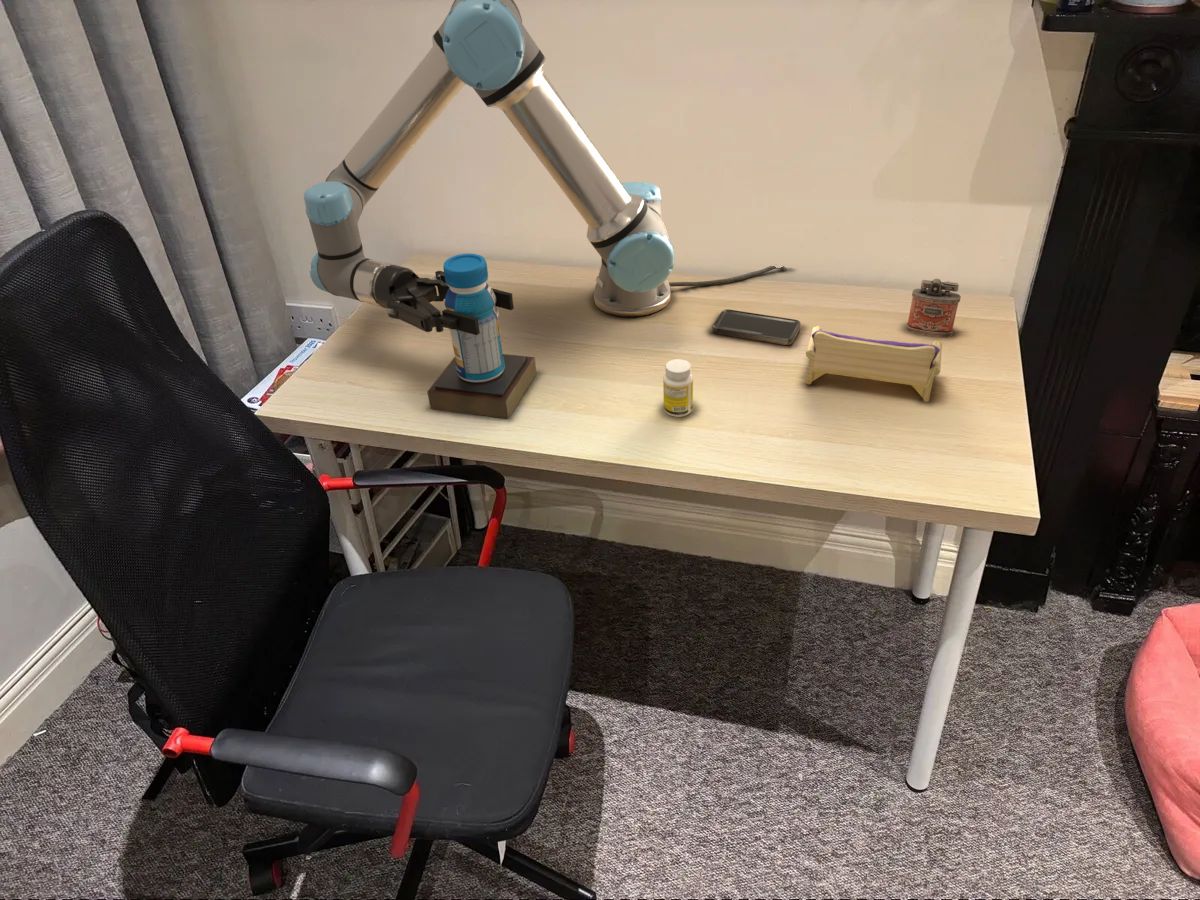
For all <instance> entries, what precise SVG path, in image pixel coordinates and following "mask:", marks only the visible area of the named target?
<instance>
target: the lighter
mask: <svg viewBox="0 0 1200 900" xmlns="http://www.w3.org/2000/svg"><path fill="white" fill-rule="evenodd" d="M959 287H960V284H959V283H958V282H952V281H941V279H939V278H933V280H930V279H922V280H921V284H920V288H914V289H913V290H912V293H911V296H912V299H911V304H910V310H909V314H908V319H907V323H906V325H905V330H906V331H907V332H908V333H912V334H916V335H920V336H921V335H922V336H928V337H937V338H950V337H952V336H953V333H954V325H955V320H956V315H957V311H958V306H959V303H960V301H961V297H962V296H961V295H960V294H959V293H957V292H958V291H959Z"/></svg>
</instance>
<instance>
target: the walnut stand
mask: <svg viewBox="0 0 1200 900" xmlns="http://www.w3.org/2000/svg"><path fill="white" fill-rule="evenodd" d="M503 358H504V363H505V368H504V371H503V372H502V374H501V375H500V376H498V377H497V378H495V379H493V380H490V381H487V382H480V383H474V382H468V381H465V380H463V379H461V378H460V377H459V376H458V374H457V371H456V361H455V356H454V357H453V359H452V360H451V361H450V362H449V364H448V365H447V366H446V367H445V368H444V370H443V371H442V372H441V373H440V374H439V376H438V377H437V379H435V381H434V383H432V385H431V386H430V387H429V389H428V390H427V397H428V401H429V407H430V409H431V410H437V411H445V412H452V413H460V414H469V415H475V416H476V415H477V416H485V417H492V418H500V419H508V420H509V418H510V417H511V415H512V413H513V412H514V410H515V409H516V408H517V405H518V404H519V402H520V401H521V400H522V398H523V396H524V395H525V393H526V392H527V390H528V388H529V387H530V385H531V383H533V380H534V378H535V377H536V376H537V368H536V367H537V365H536V358H535V356H529V355H518V354H508V353H503Z"/></svg>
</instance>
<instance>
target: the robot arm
mask: <svg viewBox="0 0 1200 900" xmlns="http://www.w3.org/2000/svg"><path fill="white" fill-rule="evenodd" d="M431 39H432V40H431V42H432V47H431V48H430V49H429V51H428V52H427V54H426V55H425V56H424V57H423V59H422V60H421V61H420V62H419V63H418V65H416V67H415V68H414V70H413V71H412V72H411V74H409V76H408V77H407V79H406V80H405V81H404V83H403V84H402V85H401V86H400V88H399V89H398V90H397V91H396V92H395V94H394V95H393V96H392V98H391V99H390V100H389V101H388V102H387V104H386V105H385V106H384V108H383V109H382V110H381V111H380V113H378V115H377V117H376V118H375V119H374V120H373V121H372V123H371V124H370V125H369V126H368V127H367V129H366V130H365V131H364V133H363V134H362V135H361V136H360V138H359V139H358V140H357V142H355V144H354V145H353V146H352V148H350V150H349V152H348V153H347V154H346V155H345V156H344V159H343V160H342V161H341V162H340V163H339V165H337V166H336V167H334V169H332V170H331V172H330V173H329V174H328V176H327V177H326V179H325V181H324V182H318V183H315V184H312V186H309V187H307V188H306V189H305V190H304V193H303V200H304V205H305V214H306V216H307V218H308V221H309V225H310V230H311V233H312V236H313V240H314V243H315V247H316V251H317V253H315V254H314V256H313V257H312V259H311V261H310V270H309V276H310V280H311V281H312V283H313V284H314V286H315V287H317V288H318V289H319V290H321V291H324V292H326V293H327V294H328V293H329V294H330V295H332V296H335V297H340V298H341V297H342V298H347V299H352V300H355V301H359V302H361V303H366V304H369V305H373V306H376V307H379V308H383V309H386V311H387V316H388V318H391V319H395V320H400V321H402V322H404V323H406V324H408V325H410V326H412V327H415V328H417V329H419V330H421V331H423V332H425V333H431V332H432V331H433V328H435V331H436V333H441V332H444V328H445V329H449V330H450V329H452V330H459V331H463V332H467V333H470V334H474V335H478V334H480V330H479V324H478V318H476V317H472V316H469V315H465V314H461V313H457V312H454V311H450V310H447V309H446V308H445V309H443V310H441V311H440V310H439V309H438V308H437V307H435V306H434V305H433V304H432V302H435V303H436V302H444V301H445V297H446V294H447V291H448V289H449V286H448V285H447V283H446V280H445V275H444V270H436V271H435V272H434V274H435V276H434V277H431V278H430V277H419V276H418V275H417V274H416V273H415V271H413V270H412V269H411V268H409V267H405V266H400V265H396V264H392V263H389V262H385V261H381V260H377V259H372V258H368V257H366V256H365V253H364V248H363V243H362V239H361V235H360V230H359V221H360V218H361V216H362V213H363V211H364V208H365V206H366V205H367V204H368V202H369V201H370V200H371V199H372V197H374V195H375V194H376V192H377V191H378V190H379V188H380V187H381V186H382V185H383V184H384V182H385V181H386V180H387V179H388V177H389V176H390V175H391V174H392V173H393V171H395V169H396V168H397V167H398V166H399V164H400V163H401V162H402V161H403V160H404V158H405V157H406V156H407V155H408V154H409V153H410V152H411V151H412V149H413V148H414V147H415V145H416V144H417V143H418V142H419V140H420V139H421V138H422V137H423V136H424V134H426V132H427V131H428V130H429V129H430V127H431V126H432V125H433V124H434V123H435V121H436V120H437V119H438V118H439V117H440V116H441V114H442V113H443V112H444V111H445V110H446V109H447V108H448V107H449V105H450V104H451V103H452V101H453V100H454V99H455V98H456V97H457V96H458V94H459V93H460V92H461V91H462V90H463V88H465V86H466V85H467V86H469V87H470V88H472V89H473V90H474V91H475V93H476V94H477V96H478V97H479V98H480V99H481V101H482V102H483V103H484V104H485V106H486V107H488V108H494V109H499V110H501V111H502V112H503V114H504V115H505V116H506V117H507V119H508V120H509V122H510V123H511V124H512V125H513V127H514V128H515V129H516V131H517V132H518V133H519V135H520V136H521V137H522V139H523V140H524V141H525V143H526V144H527V145H528V147H529V148H530V149H531V151H532V152H533V153H534V155H535V156H536V157H537V159H538V160H539V161H540V163H541V164H542V165H543V167H544V168H545V169H546V171H547V172H548V174H549V175H550V176H551V177H552V179H553V180H554V182H555V183H556V184H557V185H558V187H559V188H560V190H561V191H562V193H564V195H565V196H566V198H567V199H568V200H569V201H570V203H571V204H572V206H573V207H574V208H575V210H576V211H577V212H578V214H579V215H580V216H581V217H582V219H583V220H584V221H585V223H586V224H587V231H586V238H587V240H588V242H589V243H590V244H591V245H592V247H593V248H594V249H595V251H596V252H597V253H598V255H599V256H600V258H601V265H600V268H599V272H598V275H596V278H595V281H596V283H595V286H594V291H593V298H594V304H595V306H596V308H598V309H599V310H600V311H603V312H604V313H607V314H609V315H613V316H619V317H641V316H647V315H648V316H649V315H651V314H654V313H657V312H659V311H661V310H663V309H664V308H666V307H667V306H668V305H669V303H670V302H671V297H672V296H671V295H672V293H671V291H672V290H671V287H700V286H701V287H702V286H703V287H704V286H714V285H722V284H728V283H733V282H737V281H741V280H745V279H748V278H752V277H756V276H759V275H763V274H765V273H768V272H771V271H772V270H773V271H774V270H777V269H778V270H781V271H783V272H788V271H789V270H788V268H787V267H786V266H784V265H782V266H783V267H781V268H776V267H775V266H772V265H770V266H767V267H765V268H763V269H759V270H754V271H750V272H748V273H745V274H741V275H738V276H732V277H727V278H722V279H721V278H720V279H714V280H713V279H712V280H704V281H703V280H702V281H672V282H671V281H670V282H669V280H668V278H669V277H670V275H671V273H672V272H673V269H674V266H675V247H674V245H673V243H672V240H671V239H670V236H669V234H668V231H667V228H666V226H665V225H666V224H665V222H664V220H663V217H662V207H661V206H662V199H663V198H662V195H661V189H660V188H659V186H658V185H656V184H654V183H651V182H644V181H625V182H621V181H620V180H619V178H618V177H617V175H616V174H615V172H614V171H613V170H612V168H611V167H610V165H609V164H608V162H607V161H606V159H605V157H603V155H602V154H601V152H600V151H599V149H598V148H597V147H596V145H595V144H594V142H593V141H592V139H591V138H590V137H589V135H588V134H587V132H586V131H585V129H584V128H583V127H582V125H581V124H580V122H579V121H578V120H577V118H576V117H575V115H574V114H573V112H572V111H571V110H570V108H569V107H568V105H567V104H566V103H565V101H564V99H563V98H562V97H561V96H560V94H559V92H558V91H557V89H556V88H555V87H554V85H553V84H552V83H551V81H550V79H549V78H548V76H547V75H546V74H545V66H546V56H545V54H543V52H542V51H541V49H540V47H539V46H538V45H537V43H536V42H535V40H534V38H533V37H532V36H531V35H530V33H529V32H528V30H527V28H526V27H525V26H524V24H523V18H522V15H521V12H520V9H519V7H518V5H517V3H516V2H515V1H514V0H454V1H453V2H452V5H451V6H450V9H449V10H448V13H447V15H446V16H445V18H444V20H443V21H442V23H441V25H439V28H437V30H436V31H435V32H434V34H432V36H431ZM491 289H492V290H493V292H494V294H495V296H496V303H495V305H496V307H497V308H500V309H505V310H508V311H512V310H514V309H515V307H514V300H513V299H514V298H513V293H512V292H508V291H504V290H501V289H497V288H493V287H491Z"/></svg>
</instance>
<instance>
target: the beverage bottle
mask: <svg viewBox="0 0 1200 900" xmlns="http://www.w3.org/2000/svg"><path fill="white" fill-rule="evenodd" d="M442 268H443V269H442V270H443V272H444V275H445V280H446V283H447V285H448V286H449V289H448V291H447V294H446V297H445V299H444V307H445V309H446V310H450V311H454V312H457V313H461V314H465V315H469V316H472V317H476V318H478V324H479V330H480V334H478V335H474V334H470V333H467V332H463V331H459V330H452V329H449V332H450V337H451V338H450V339H451V343H452V348H453V354H454V357H455V361H456V371H457V374H458V376H459V377H460V378H461V379H463V380H465V381H468V382H474V383H480V382H487V381H490V380H493V379H495V378H497V377H498V376H500V375H501V374H502V372H503V371H504V368H505V363H504V358H503V354H504V353H503V346H502V340H501V332H500V331H501V330H500V323H499V320H500V312H499V309H498V307H496V305H495V303H496V296H495V294H494V292H493V290H492V289H491V288H492V287H491V285H489V283H487V282H488V280H489V270H488V264H487V260H486V258H485V257H484V256H482V255H480V254H477V253H460V254H456V255H453V256H450V257H448V258H447V259H446V260H445V261H444V263H443V266H442Z"/></svg>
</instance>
